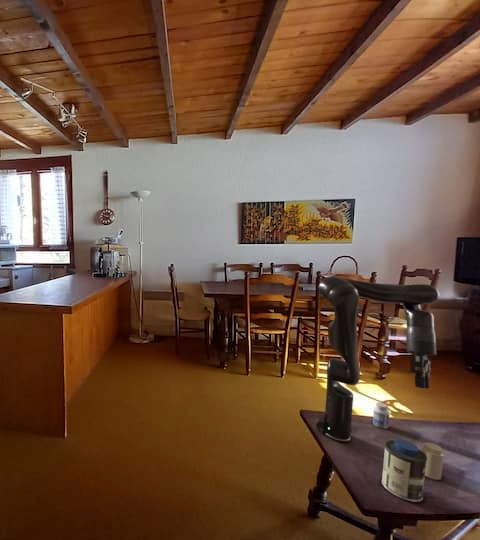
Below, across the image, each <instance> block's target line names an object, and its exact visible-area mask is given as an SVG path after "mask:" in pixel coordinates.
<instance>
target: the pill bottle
mask: <svg viewBox="0 0 480 540" xmlns="http://www.w3.org/2000/svg"><path fill="white" fill-rule="evenodd" d="M388 409H389V407H388V405H387V404H386V403H383V402H376V403H375V406H374V408H373V416H372V424H373V426H375V427H378V428H380V429H388V428H389V425H390V411H389V410H388Z"/></svg>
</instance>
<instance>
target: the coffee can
mask: <svg viewBox="0 0 480 540" xmlns="http://www.w3.org/2000/svg"><path fill="white" fill-rule="evenodd" d="M395 440H396V439H390V440H389V439H388V440H385V442H384V455H383V464H382V465H383V466H382V477H381V484H382V485H383V487H384V488H385V489H386V490H387V491H388V492H390V493H391V494H392V495H394V496H396V497H398V498H400V499H401V500H405V501H407V502H413V503H420V502H422V501H423V500H424V488H425V487H424V486H425V478H426V476H425V469H426V461H427V456H426V455H425V454H424V453H423V452H422V449H419V448H418V455H417V456H409V455H406V454H403V453H401V452H399V451H398V450H396V449H395V448H394V441H395Z"/></svg>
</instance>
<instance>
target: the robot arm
mask: <svg viewBox="0 0 480 540" xmlns="http://www.w3.org/2000/svg"><path fill="white" fill-rule="evenodd" d="M318 292H319V295H320V296H321V297H323V298H324V299H325V300H326V301H327V302H329V304H330V305H331V306H332V308H333V312H334V319H333V320H332V321H330V323H329V325H328V326H327V337H328V343H329V345H330V346H331V348H332V349H333V350H334V351H335V352H336V353H337V354H338V355H339V356H340V357H341V358H342V359H340V358H335V357H331V358H330V359H329V360H328V362H327V365H326V366H327V367H326V391H325V392H326V394H325V409H324V413H323V416H322V415H320V416H319V418H318V420H317V422H316V423H315V427H316V430H317V431H318V432H319V433H320V432H322V435H324V436H326V437H328V438H330V439H331V440H334V441H335V442H341V443H348V442H350V441H351V433H352V419H353V406H354V393H353V392H352V391H351V390H350V389H348V388H347V387H345V386H343V385H342V384H344V385H348V386H357V385H358V384H359V382H360V380H361V369H360V363H359V357H358V356H359V355H358V343H359V342H358V341H359V340H358V339H359V338H358V311H359V310H358V309H359V303H360V298H362V299H365V300H369V301H373V302H377V303H381V304H395V305H396V304H397V305H398V304H401V305H402V307H403V310H404V312H405V315H406V331H405V343H406V346H405V347H406V352H407V353H409V354H413V355H412V357H411V358H412V373H413V375H414V386H415V387H416V388H419V389H429V388H430V379H429V378H430V377H431V360H430V358H428V356H433V357H435V356H437V336H436V331H435V317H434V314H433V313H432V312H431V311H427V310H423V309H422V305H432V304H434V303H437V302H438V301H439V300H440V297H441V293H440V291H439V289H437V288H436V287H435V286H433V285H431V284H425V283H423V284H422V283H419V284H397V283H396V284H395V283H378V282H376V283H375V282H369V281H362V280H357V279H355V280H354V279H350V278H346V277H342V276H336V275H335V276H334V275H331V276H328V277H325V278H324V279H323V280H321V282H320V283H319V285H318ZM341 383H342V384H341Z"/></svg>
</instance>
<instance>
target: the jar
mask: <svg viewBox="0 0 480 540" xmlns="http://www.w3.org/2000/svg"><path fill="white" fill-rule="evenodd" d="M421 451H422V452H423V453H424V454H425V455H426V456H427V461H426V469H425V477H427V478H429V479H432V480H436V481H439V480H442V475H443V467H444V459H445V454H444V452H443V448H442V447H441V446H440V445H437V444H435V443H432V442H424V445H422V446H421Z"/></svg>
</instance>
